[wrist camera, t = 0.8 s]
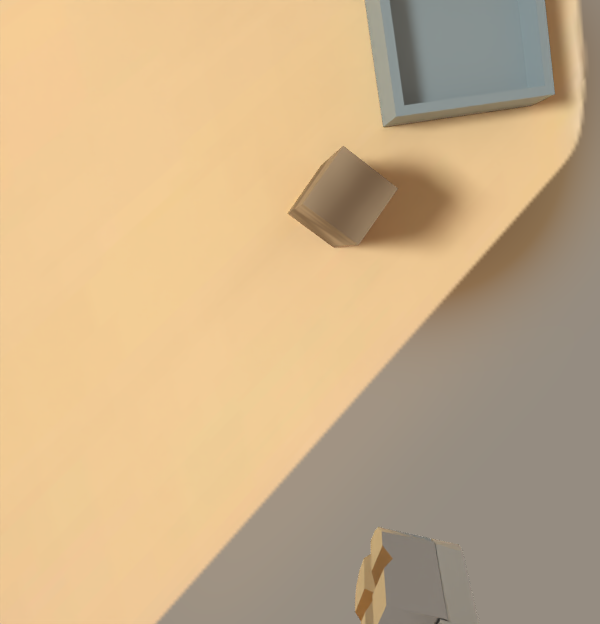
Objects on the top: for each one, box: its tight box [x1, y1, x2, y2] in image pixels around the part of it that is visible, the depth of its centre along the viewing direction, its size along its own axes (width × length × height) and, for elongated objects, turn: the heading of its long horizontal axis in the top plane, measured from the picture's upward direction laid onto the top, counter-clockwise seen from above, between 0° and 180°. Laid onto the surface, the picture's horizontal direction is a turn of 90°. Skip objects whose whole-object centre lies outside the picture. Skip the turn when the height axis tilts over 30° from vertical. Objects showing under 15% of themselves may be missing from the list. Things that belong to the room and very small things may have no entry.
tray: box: [365, 0, 555, 127], centre depth 46 cm, size 14×14×4 cm
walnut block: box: [288, 146, 398, 247], centre depth 43 cm, size 5×5×8 cm
